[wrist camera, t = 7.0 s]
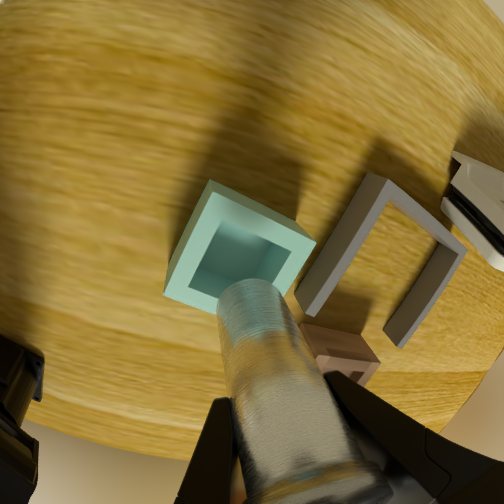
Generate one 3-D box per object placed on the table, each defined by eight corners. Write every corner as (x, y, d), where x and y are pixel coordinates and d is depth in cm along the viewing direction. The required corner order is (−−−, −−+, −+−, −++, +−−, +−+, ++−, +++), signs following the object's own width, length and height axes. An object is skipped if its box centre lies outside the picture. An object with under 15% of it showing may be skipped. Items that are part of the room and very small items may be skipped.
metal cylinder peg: (264, 348, 13) (329, 537, 5) (198, 325, 12) (219, 547, 4) (302, 290, 13) (420, 481, 4) (233, 261, 12) (309, 499, 3)
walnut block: (326, 383, 26) (341, 414, 23) (268, 376, 25) (279, 411, 21) (359, 333, 24) (381, 363, 21) (300, 320, 23) (318, 354, 19)
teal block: (250, 296, 21) (261, 330, 18) (168, 263, 19) (163, 295, 16) (294, 220, 20) (316, 242, 16) (209, 178, 18) (212, 191, 14)
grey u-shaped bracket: (387, 332, 25) (401, 348, 23) (293, 293, 21) (304, 313, 19) (448, 238, 22) (467, 249, 20) (367, 171, 19) (388, 178, 17)
